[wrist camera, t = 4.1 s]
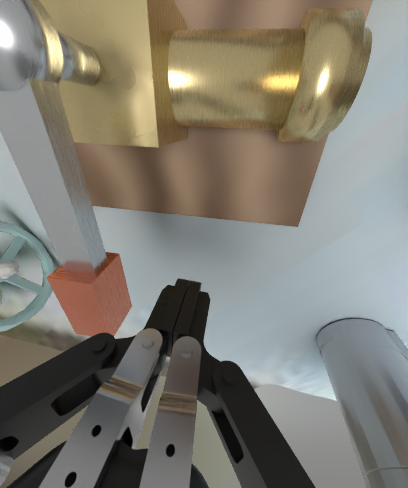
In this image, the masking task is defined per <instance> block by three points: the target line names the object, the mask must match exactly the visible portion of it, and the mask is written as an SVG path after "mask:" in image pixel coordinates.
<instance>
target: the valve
mask: <svg viewBox="0 0 408 488" xmlns="http://www.w3.org/2000/svg"><path fill="white" fill-rule="evenodd" d="M0 231H2V232H6V233H9V234H11V235H14V236H16V237H15V239H14V240H13V242H12V243H11V245H10V246H9V247H8V249H7V250H6V252H5V253H4V255H3V256H2V257H0V282H3V281H5V282H8V283H10V284H12V285H15V286H17V287H20V288H22V289H25V290H27V291H30V292H32V293H35V294H37V296H36V298H35V299H34V300H33V301H32V302H31V303H30V304H29V305H28V306H27V307H26V308H25V309H24V310H23V311H21V312H19V313H18V314H16V315H14V316H12V317H9V318H5V319H2V320H0V332H1V331H6V330H8V329H11V328H13V327H15V326H17V325H19V324H21V323H23V322H25V321H27V320H28V319H30V318H31V317H33V316H34V315H35V314H36V313H37V312H38V311H39V310H40V309H41V308H42V307H43V306H44V305H45V303H46V301H47V300H48V298H49V296H50V295H51V293H52V291H53V289H52V287H51V285H50V283H49V281H48V280H47V278H46V277H48V276H49V275H50V274H51V273H53V272H54V266H53V260H52V259H51V257H50V255H49V254H48V252H47V251H46V249H45V247H44V246H43V244H42V243H41V242H40V241H39V240H38V239H37V238H36V237H34V236H33V235H32V234H30V233H29V232H27V231H25V230H24V229H22V228H20V227H19V226H17V225H14V224H10V223H7V222H3V221H0ZM24 243H25V244H27V245H28V246H29V247H31V248H32V249H33V250H34V251H35V252H36V254H37V255H38V257H39V259H40V260H41V262H42V269H43V275H44V276H43V283H42V286H40V285H38V284H35V283H33V282H31V281H29V280H26V279H24V278H22V277H19V276H17V275H15V273H17V272H18V269H19V265H18V264H17V263H15V262H12V260H13V259H14V258H15V256H16V255H17V253H18V252H19V250H20V249H21V247H22V246H23V245H24ZM0 304H2V291H1V284H0Z"/></svg>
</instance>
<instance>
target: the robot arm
mask: <svg viewBox="0 0 408 488" xmlns="http://www.w3.org/2000/svg"><path fill="white" fill-rule="evenodd" d="M200 290H201V283H200V282H195V281H189V280H184V279H179V278H178V279H177V282H176V284H175V286H171V285H168V286H166V287H165V288H164V289H163V290H162V292H161V294H160V296H159V299H158V300H157V302H156V304H155V307H154V309H153V311H152V313H151V315H150V317H149V319H148V322H147V324H146V326H145V328H144V329H143V330H142V331H140V332H139V333H138V334H137V335H135V336H133V337H129V338H120V339H115V338H114V336H113V335H111V334H110V333H99V334H96V335H94V336H92V337H90V338H89V339H87V340H85V341H83V342H81V343H79V344H78V345H76V346H74V347H72V348H70V349H69V350H67V351H65V352H63V353H62V354H59V355H58V356H56V357H54V358H52V359H50V360H49V361H47V362H45V363H43V364H41V365H39V366H38V367H36V368H34V369H32V370H30V371H29V372H27V373H25V374H23V375H21V376H20V377H18V378H16V379H14V380H12V381H10V382H9V383H7V384H5V385H3V386H1V387H0V485H1V484H2V483H3V482H4V480H5V479H6V477H7V475H8V473H9V471H10V469H11V466H12V462H13V460H14V459H16V458H17V457H18V456H20V455H21V454H22V453H24V452H25V451H26V450H28V449H29V448H31V447H32V446H33V445H35V444H36V443H37V442H39V441H40V440H41V439H43V438H44V437H45V436H47V435H48V434H49V433H51V432H52V431H53V430H55V429H56V428H58V427H59V426H60V425H62V424H63V423H64V422H66V421H67V420H68V419H70V418H71V417H72V416H74V415H75V414H76V413H78V412H79V411H81V410H82V409H83V408H85V407H86V406H87V405H88V407H87V409H86V410H85V412H84V414H83V415H82V417H81V419H80V420H79V422H78V423H77V425H76V427H75V429H74V430H73V432H72V434H71V435H70V437H69V438H68V440H67V441H65V442H63V443H61V444H60V445H59V446H57V447H56V448H54V449H53V450H51V451H50V452H49V453H48V454H46V455H45V456H44V457H43V458H42V459H40V460H39V461H38V462H37V463H36V464H34V465H33V466H32V467H31V468H30V469H28V470H27V471H26V472H25V473H23V474H22V475H21V476H20V477H19V478H18V479H16V480H15V481H14V482H13V483H12V484H10V485H9V486H8V487H7V488H209V487H208V485H207V483H206V481H205V479H204V477H203V476H202V474H201V473H200V472H199V471H198V469H197V468H196V467H195V466H194V465H193V464H192V453H193V443H194V431H195V420H196V410H197V400H199V401H200V402H201V403H203V404H204V405H205V406H207V409H208V411H209V414H210V416H211V418H212V420H213V423H214V425H215V427H216V430H217V432H218V434H219V437H220V439H221V441H222V443H223V446H224V448H225V450H226V452H227V455H228V457H229V459H230V461H231V464H232V466H233V468H234V471H235V473H236V475H237V478H238V480H239V482H240V484H241V487H242V488H315V486H314V485H313V483H312V481H311V480H310V478H309V477H308V475H307V473H306V472H305V470H304V469H303V467H302V465H301V464H300V462H299V461H298V459H297V457H296V456H295V454H294V453H293V451H292V450H291V448H290V446H289V445H288V443H287V442H286V440H285V438H284V437H283V435H282V434H281V432H280V430H279V429H278V427H277V426H276V424H275V423H274V421H273V419H272V418H271V416H270V414H269V413H268V411H267V410H266V408H265V407H264V405H263V403H262V402H261V400H260V399H259V397H258V395H257V394H256V392H255V391H254V389H253V387H252V386H251V384H250V383H249V381H248V379H247V378H246V376H245V375H244V373H243V372H242V370H241V369H240V367H239V366H238V365H237V364H235V363H234V362H231V361H222V362H220V361H219V360H217V359H216V358H214V357H212V356H211V355H210V354H209V353H208V352H207V351H206V349H205V347H204V342H203V340H204V333H205V327H206V321H207V316H208V310H209V304H210V298H209V295H208V293H206V292H201V291H200ZM317 343H318V346H319V349H320V353H321V356H322V358H323V361H324V363H325V366H326V370H327V373H328V376H329V378H330V381H331V384H332V387H333V390H334V393H335V396H336V399H337V402H338V405H339V407H340V411H341V414H342V417H343V419H344V422H345V425H346V428H347V431H348V434H349V437H350V440H351V443H352V446H353V449H354V451H355V455H356V458H357V460H358V463H359V466H360V469H361V472H362V475H363V478H364V481H365V484H366V487H367V488H408V349H407V348H406V346H405V345H404V344H403V342H402V341H401V339H400V338H399V337H398V335H397V334H396V333H395V332H394V331H389V330H387V329H385V328H384V327H383V326H382V325H380V324H379V323H377V322H374V321H371V320H365V319H346V320H341V321H337V322H334V323H331V324H330V325H328V326H326V327H325V328H323V329H322V330H321V331H320V332H319V334H318V336H317ZM167 356H168V357H170V362H169V366H168V371H167V375H166V380H165V385H164V389H163V393H162V396H161V398H160V401H159V405H158V409H157V413H156V417H155V422H154V426H153V430H152V435H151V439H150V444H149V448H148V449H139V450H134V449H135V446H136V444H137V441H138V438H139V436H140V433H141V430H142V427H143V423H144V418H145V415H146V412H147V409H148V407H149V404H150V402H151V399H152V396H153V394H154V391H155V389H156V386H157V383H158V381H159V378H160V376H161V373H162V370H163V366H164V363H165V360H166V357H167Z"/></svg>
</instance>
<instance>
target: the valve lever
mask: <svg viewBox="0 0 408 488" xmlns="http://www.w3.org/2000/svg"><path fill="white" fill-rule="evenodd" d="M62 73H63V53H62V48H61V43H60V40H59V36H58V33H57V31H56V28H55V26H54V24H53V22H52V19H51V18H50V16H49V14H48V12H47V11H46V9H45V8H44V6H43V5H42V3H41V2H40V1H39V0H0V131H1V133H2V135H3V137H4V140H5V142H6V144H7V146H8V149H9V151H10V153H11V155H12V157H13V160H14V162H15V164H16V166H17V168H18V171H19V173H20V175H21V177H22V179H23V182H24V184H25V186H26V188H27V191H28V193H29V195H30V197H31V199H32V202H33V204H34V206H35V208H36V210H37V213H38V215H39V217H40V219H41V221H42V224H43V226H44V228H45V230H46V233H47V235H48V237H49V239H50V241H51V244H52V246H53V248H54V250H55V252H56V255H57V257H58V259H59V261H60V263H61V266H60V267H59V268H58V269H56V270H55V271H54V272H53V273H51V274H50V275H49V276H48V277H46V278H47V280H48V281H49V283H50V285H51V287H52V289H53V291H54V293H55V295H56V297H57V299H58V300H59V302H60V304H61V306H62V308H63V310H64V312H65V314H66V316H67V318H68V319H69V321H70V323H71V325H72V327H73V329H74V331H75V333H77V334H82V335H87V336H94V335H96V334H99V333H110V334H111V335H113V336H115V334H116V332H117V331H118V329H119V327H120V326H121V324H122V322H123V320H124V319H125V317H126V315H127V314H128V312H129V310H130V309H131V307H132V305H131V301H130V296H129V292H128V288H127V284H126V280H125V276H124V272H123V267H122V263H121V259H120V255H119V254H116V253H109V252H105V249H104V246H103V242H102V239H101V235H100V232H99V228H98V225H97V221H96V218H95V214H94V211H93V207H92V204H91V200H90V197H89V193H88V190H87V186H86V183H85V179H84V176H83V172H82V169H81V165H80V162H79V158H78V155H77V151H76V148H75V144H74V141H73V137H72V134H71V130H70V127H69V123H68V120H67V116H66V113H65V109H64V106H63V102H62V99H61V95H60V92H59V88H58V85H59V83H60V81H61V78H62Z"/></svg>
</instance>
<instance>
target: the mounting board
mask: <svg viewBox="0 0 408 488" xmlns="http://www.w3.org/2000/svg"><path fill="white" fill-rule="evenodd" d="M174 1H175V3H176V5H177V7H178V9H179V10H180V12H181V14H182V16H183V18H184V19H185V21H186V30H194V29H273V28H298V27H299V25H300V22H301V20H302V17H303V15H304V13H305V12H306V10H307V9H308V8H342V7H361V8H362V9H363V12H364V17H365V22H366V19H367V16H368V13H369V10H370V7H371V4H372V0H174ZM328 134H329V133H325V135H324V136H323V137H322V138H321V139H320V140H319V141H318V142H316V143H299V142H280V141H277V139H276V130H262V129H241V128H220V127H198V126H187V139H184V140H181V141H178V142H175V143H171V144H168V145H165V146H162V147H143V146H126V145H110V144H94V143H78V142H74V144H75V148H76V151H77V155H78V158H79V162H80V165H81V169H82V172H83V176H84V179H85V183H86V186H87V190H88V193H89V197H90V200H91V204H92V206H101V207H111V208H120V209H130V210H140V211H150V212H159V213H169V214H179V215H188V216H198V217H208V218H218V219H227V220H237V221H247V222H257V223H266V224H276V225H286V226H296V227H298V225H299V222H300V219H301V216H302V213H303V210H304V207H305V204H306V200H307V197H308V194H309V191H310V188H311V185H312V182H313V179H314V176H315V173H316V170H317V167H318V164H319V161H320V158H321V155H322V152H323V149H324V146H325V143H326V140H327V137H328Z"/></svg>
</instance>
